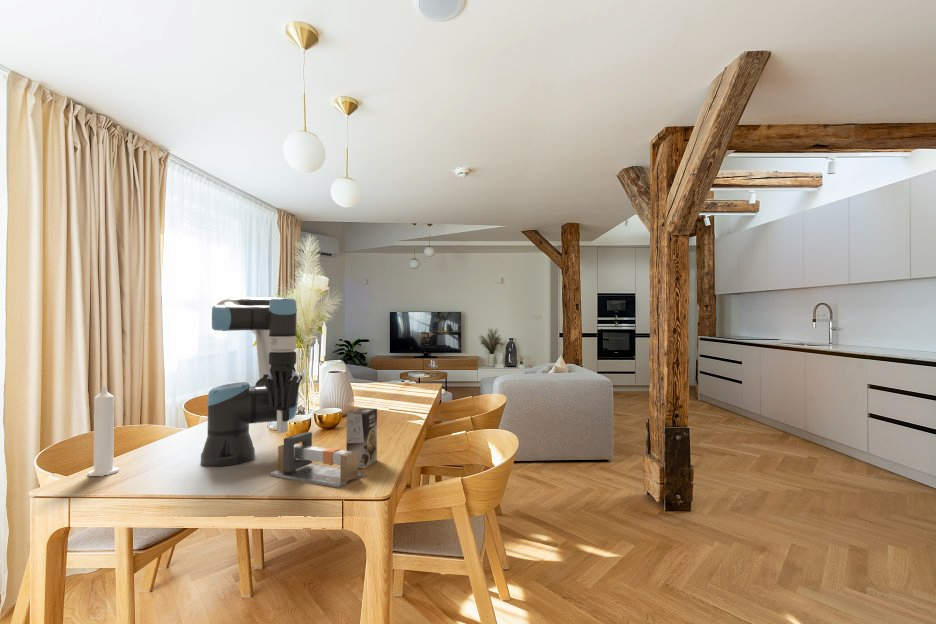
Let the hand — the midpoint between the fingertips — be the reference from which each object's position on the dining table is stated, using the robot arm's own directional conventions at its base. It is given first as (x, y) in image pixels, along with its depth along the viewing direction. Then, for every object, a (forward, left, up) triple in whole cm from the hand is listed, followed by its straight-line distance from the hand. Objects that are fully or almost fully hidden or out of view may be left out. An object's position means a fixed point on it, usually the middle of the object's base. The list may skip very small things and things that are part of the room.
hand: (282, 432), depth 142 cm
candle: (-44, -23, -11) cm, 51 cm away
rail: (+13, 0, -11) cm, 17 cm away
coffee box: (+18, +15, -11) cm, 25 cm away
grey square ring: (+6, 0, -10) cm, 11 cm away
